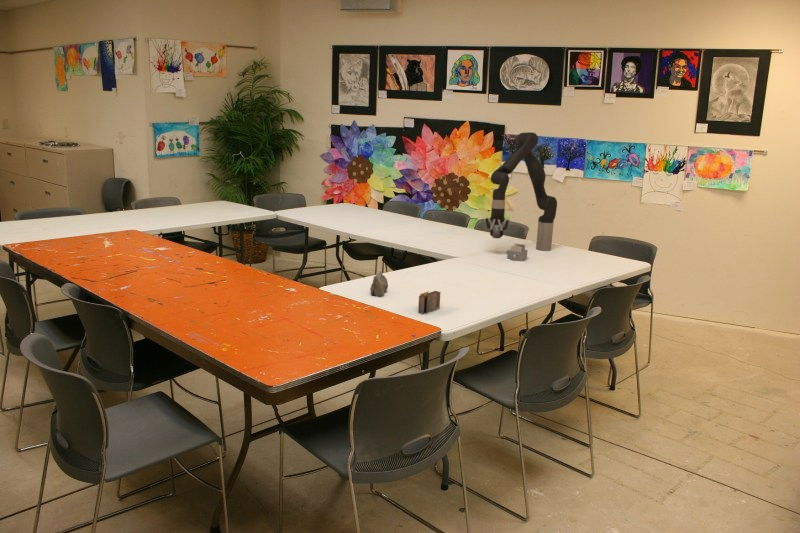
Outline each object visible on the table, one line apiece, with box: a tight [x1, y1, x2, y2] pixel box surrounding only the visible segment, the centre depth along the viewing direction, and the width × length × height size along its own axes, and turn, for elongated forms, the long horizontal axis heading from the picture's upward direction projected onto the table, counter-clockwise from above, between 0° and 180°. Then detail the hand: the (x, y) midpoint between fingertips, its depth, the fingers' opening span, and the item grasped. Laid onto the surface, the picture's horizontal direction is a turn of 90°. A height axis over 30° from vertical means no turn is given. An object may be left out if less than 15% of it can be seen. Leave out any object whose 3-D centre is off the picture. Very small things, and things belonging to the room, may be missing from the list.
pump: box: [491, 225, 502, 239], centre depth 389 cm, size 5×5×7 cm
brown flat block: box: [417, 290, 441, 315], centre depth 276 cm, size 11×3×10 cm, turn 141°
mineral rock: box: [369, 271, 389, 297], centre depth 300 cm, size 13×11×10 cm
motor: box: [506, 243, 528, 262], centre depth 384 cm, size 12×11×8 cm
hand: (496, 236), depth 390 cm, fingers closed on pump, 4 cm apart
